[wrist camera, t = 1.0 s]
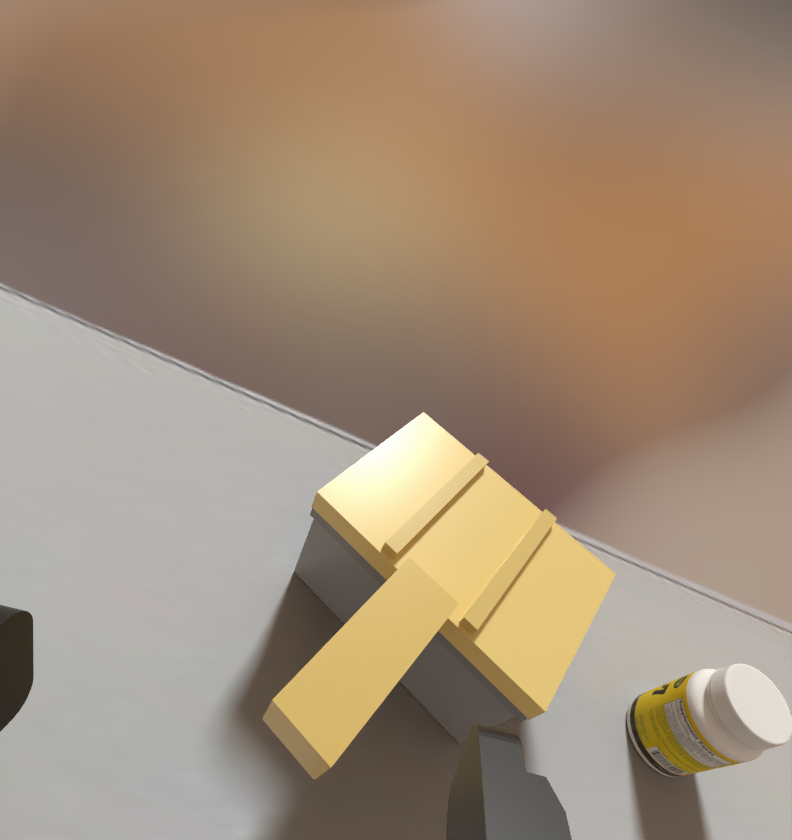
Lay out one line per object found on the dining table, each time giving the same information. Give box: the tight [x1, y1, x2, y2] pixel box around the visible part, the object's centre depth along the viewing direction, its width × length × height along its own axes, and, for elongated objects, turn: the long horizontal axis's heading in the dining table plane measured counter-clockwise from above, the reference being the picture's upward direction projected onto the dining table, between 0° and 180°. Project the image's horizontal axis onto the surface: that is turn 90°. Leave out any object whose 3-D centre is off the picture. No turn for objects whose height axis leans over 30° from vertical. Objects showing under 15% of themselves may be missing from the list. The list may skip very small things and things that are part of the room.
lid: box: [262, 412, 616, 780], centre depth 25 cm, size 14×18×3 cm
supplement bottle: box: [627, 664, 792, 777], centre depth 30 cm, size 5×5×8 cm
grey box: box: [294, 508, 527, 744], centre depth 31 cm, size 14×9×8 cm, turn 50°
